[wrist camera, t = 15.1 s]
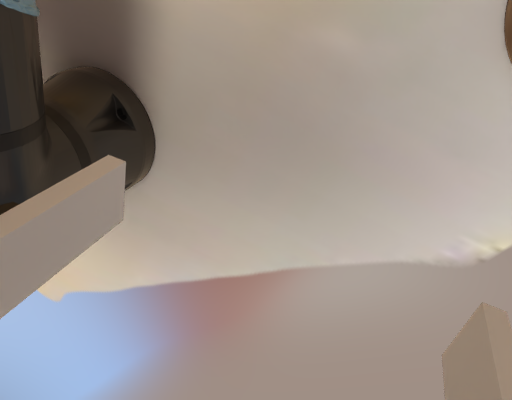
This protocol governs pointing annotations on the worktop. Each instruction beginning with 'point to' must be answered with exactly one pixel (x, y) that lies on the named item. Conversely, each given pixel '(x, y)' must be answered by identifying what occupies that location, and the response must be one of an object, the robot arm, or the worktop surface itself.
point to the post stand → (508, 28)
